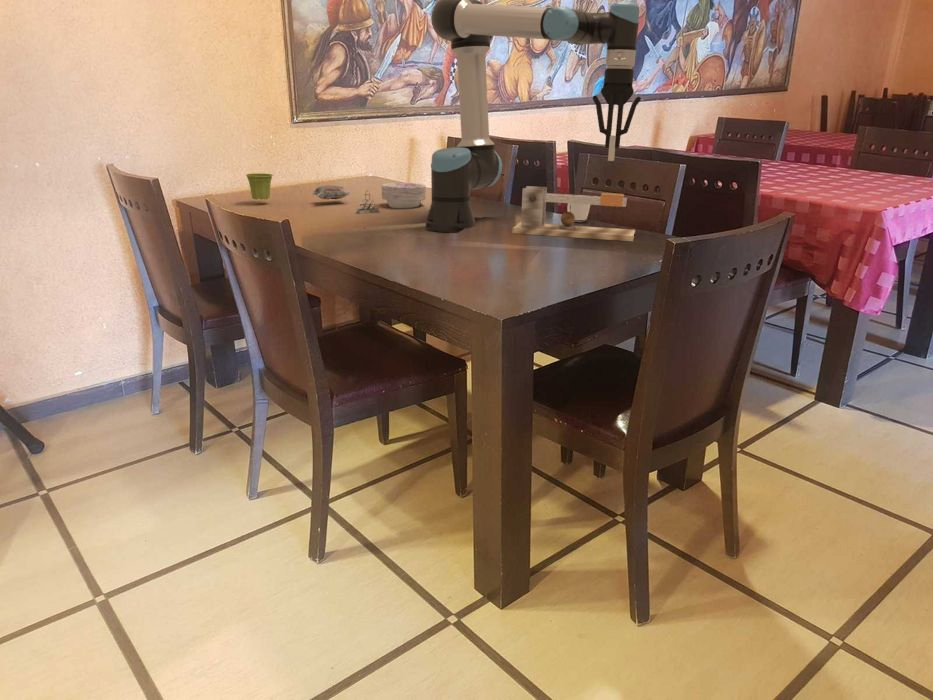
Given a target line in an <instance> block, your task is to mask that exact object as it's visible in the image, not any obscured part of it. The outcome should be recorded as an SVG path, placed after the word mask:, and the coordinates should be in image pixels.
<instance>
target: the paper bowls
mask: <svg viewBox="0 0 933 700" xmlns="http://www.w3.org/2000/svg"><path fill="white" fill-rule="evenodd" d="M426 189H427V188H426V184H422V183H413V182H391V183H390V182H389V183H383V184H382V185H381V199H382V200H386V203H387V205H388V207H390V208H391V209H392V208H393V209H412V208H418V207H420V204H421V202H423V201H425V200H426V196H427V195H426V191H427V190H426Z"/></svg>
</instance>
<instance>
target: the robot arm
mask: <svg viewBox="0 0 933 700" xmlns="http://www.w3.org/2000/svg"><path fill="white" fill-rule="evenodd" d="M430 17H431V18H430V20H431V25H432V29H433V30H434V32H435V34H437V36H439V38H441V39H443V40H445V41H447V42H448V41H449V42H450V45H451V46H450V48H451V49H450V50H451V53H453V54H454V55H455V56H456V66H457V80H458V82H457V83H458V85H457V86H458V97H459V100H458V101H459V115H460V116H459V118H460V119H459V120H460V130H461V131H460V134H461V135H460V136H461V139H460V140H461V141H460V142H459V143H458V144H457V145H456V147H445V148H440V149H438V150H435V151H434V152H433V153H432V156H431V164H430V168H431V169H430V170H431V172H430V173H431V177H430V178H431V203H430V206H429V209H428V213H427V216H426V220H425V228H426V229H427V230H429V231H433V232H439V233H440V232H441V233H460V232H461V231H464V230H465V229H468V228H470V229H471V228H473V227H475V226H476V220H475V217H474V212H473V209H472V206H471V201H470V200H471V191H474V190H484V189H486V188H488V187H491V186H494V185H495V184H496V183H497V181H498V180H500V177H501V175H502V171H503V162H502V159H501V157H500V156H499V154H498V153H497V152H496V151H495V143H494V141H492V140H491V138H490V129H489V123H490V122H489V108H488V107H489V106H488V103H489V102H488V83H487V80H488V79H487V60H486V56H487V53H488V52H489V50H490V49H491V41H492V40H493V37H502V38H503V37H504V38H505V37H506V38H507V37H508V38H521V39H534V40H535V39H536V40H548V41H558V42H559V41H561V42H567V43H568V44H570V45H578V46H582V45H597V44H599V45H600V44H604V45H605V44H606V52H605V53H606V54H605V64H604V65H605V67H607V68H605V70H604V76H603V77H604V79H603V86H602V88H601V91H600V92H598V93H597V94H595V95H593V96H592V100H593V102H594V104H595V108H596V109H595V110H596V116H597V123H598V130H599V133H601V134H603V135H605V142H604V147H605V149H607V148H608V155H607V157H608V158H607V162H614V161H615V155H616V153H615V152H616V149H619V148H620V143H621V137H622V135H625V134H628V132H629V129H630V126H631V123H632V121H633V117H634V114H635V112H636V108H637V106H638V105H639V103H640V102H641V100H642V97H641V96H638V95H637V94H636V93H635V92H634V88H633V82H634V74H635V70H634V69H633V68H634V67H635V64H636V53H637V42H638V34H639V33H638V32H639V24H640V6H639V4H637V3H636V2H631V1H622V2H621V1H619V2H613V3H611V4H610V8H609V11H606V12H587V11H582V10H578V9H573V8H571V7H568V6H563V5H562V6H554V7H549V6H532V5H530V6H528V5H512V4H511V5H508V4H506V5H505V4H487V3H485V2H482V1H481V0H480V1H479V0H438V1H437V2H436V4H434V6H433V8H432V10H431V16H430ZM603 98H604V100H605V102H606V103H607V107H608V109H607V119H606V128H605V121H604V115H603V108H602V100H603ZM630 99H631V100H630ZM629 100H630V101H631V106H630V108H629V111H628V114H627V118H626V120H625V123H624V127H623V129H622V125H623V115H624V113H623V112H624V106H625V104H627V102H628V101H629ZM615 106H617V115H616V126H615V127H616V128H615V135H612V130H613V128H612V127H613V120H614V117H613V116H614V108H615Z"/></svg>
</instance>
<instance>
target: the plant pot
mask: <svg viewBox="0 0 933 700" xmlns="http://www.w3.org/2000/svg"><path fill="white" fill-rule="evenodd" d="M245 176H246V178H247V180H248V184H249V189H250V194H251V198H252V199H253V200H262V199H264V200H268V198H269V199H270V196H271V184H272V183H271V182H272V178H273V174H271V173H264V172H260V173H259V172H258V173H254V172H253V173H247V174H245Z"/></svg>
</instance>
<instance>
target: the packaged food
mask: <svg viewBox="0 0 933 700" xmlns="http://www.w3.org/2000/svg"><path fill="white" fill-rule="evenodd" d="M312 195H313V196H314V195H315V196H316V197H318V198H320V199H321V200H328V201H330V200H329V199H335V200H339V199H343V198H345V197H347V196H349V195H350V192H349V191H346V190H345V189H344V187H343V186H339V185H322V186H318V187H317V188H315V190H314V191H313V193H312Z"/></svg>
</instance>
